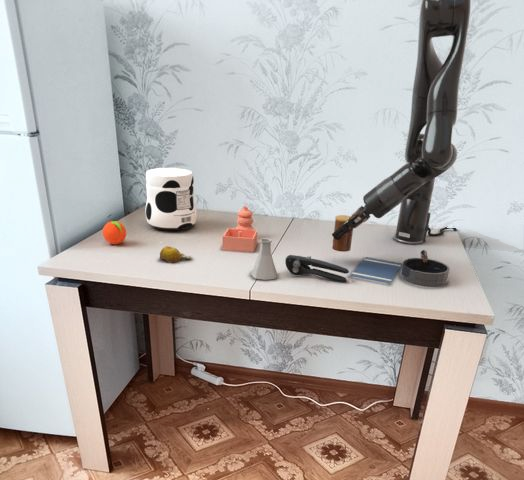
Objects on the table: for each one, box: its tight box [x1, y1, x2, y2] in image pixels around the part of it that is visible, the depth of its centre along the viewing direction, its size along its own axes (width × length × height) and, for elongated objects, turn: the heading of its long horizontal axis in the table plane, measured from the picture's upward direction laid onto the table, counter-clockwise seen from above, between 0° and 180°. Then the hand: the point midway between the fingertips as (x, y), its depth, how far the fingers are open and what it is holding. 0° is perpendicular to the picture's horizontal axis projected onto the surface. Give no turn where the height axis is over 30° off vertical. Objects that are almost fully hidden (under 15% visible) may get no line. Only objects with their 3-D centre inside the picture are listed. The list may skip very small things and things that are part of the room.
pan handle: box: [420, 249, 429, 265], centre depth 146 cm, size 10×2×2 cm, turn 166°
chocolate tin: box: [331, 214, 354, 253], centre depth 143 cm, size 5×5×9 cm
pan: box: [400, 257, 451, 288], centre depth 138 cm, size 12×12×4 cm
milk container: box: [144, 167, 198, 231], centre depth 169 cm, size 17×17×18 cm
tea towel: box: [349, 256, 403, 285], centre depth 143 cm, size 18×11×1 cm, turn 155°
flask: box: [250, 237, 278, 281], centre depth 134 cm, size 7×7×10 cm
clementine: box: [102, 220, 127, 245], centre depth 153 cm, size 8×7×7 cm
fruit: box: [159, 245, 191, 263], centre depth 144 cm, size 8×8×4 cm
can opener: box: [285, 254, 350, 283], centre depth 136 cm, size 18×7×6 cm, turn 69°
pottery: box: [222, 205, 258, 253], centre depth 159 cm, size 18×10×10 cm, turn 173°
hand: (336, 234), depth 144 cm, fingers closed on chocolate tin, 5 cm apart
